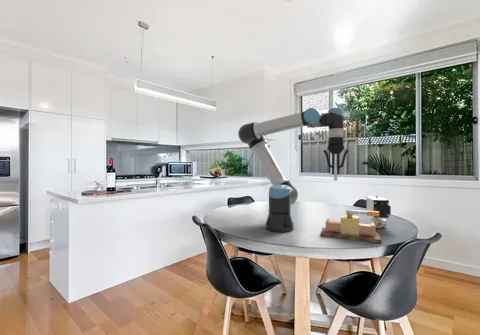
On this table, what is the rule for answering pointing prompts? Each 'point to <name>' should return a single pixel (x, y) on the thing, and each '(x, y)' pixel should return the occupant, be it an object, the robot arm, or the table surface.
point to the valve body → (350, 226)
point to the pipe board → (350, 237)
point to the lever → (363, 212)
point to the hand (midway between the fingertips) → (335, 180)
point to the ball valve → (380, 206)
